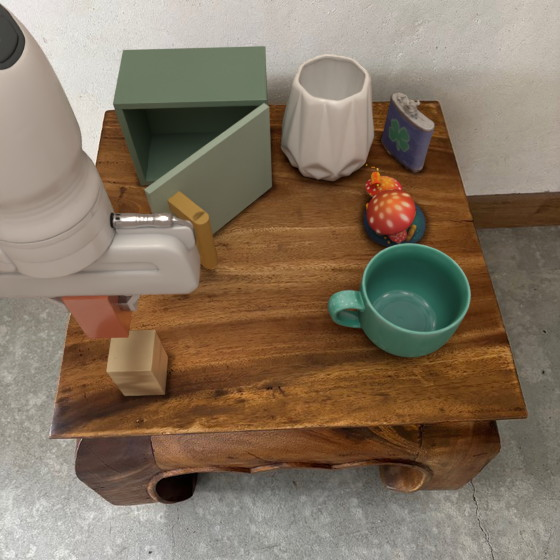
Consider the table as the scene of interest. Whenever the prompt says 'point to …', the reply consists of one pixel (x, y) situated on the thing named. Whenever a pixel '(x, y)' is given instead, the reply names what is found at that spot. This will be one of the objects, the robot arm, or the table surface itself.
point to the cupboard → (184, 100)
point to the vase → (328, 117)
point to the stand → (138, 363)
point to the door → (218, 181)
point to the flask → (407, 132)
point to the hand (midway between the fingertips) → (102, 305)
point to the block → (99, 316)
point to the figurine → (391, 213)
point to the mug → (406, 300)
